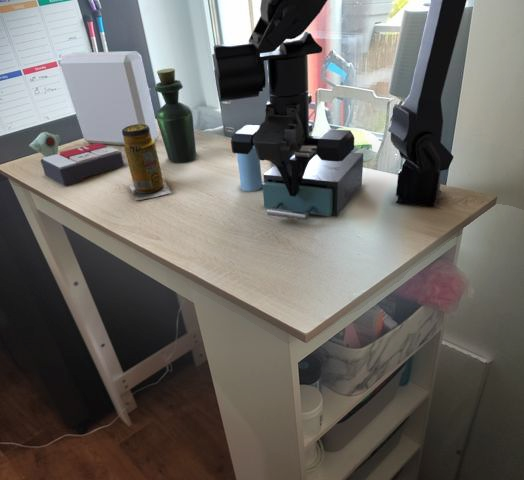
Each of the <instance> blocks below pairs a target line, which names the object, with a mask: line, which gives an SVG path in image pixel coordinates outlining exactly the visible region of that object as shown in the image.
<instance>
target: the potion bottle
mask: <svg viewBox="0 0 524 480" xmlns="http://www.w3.org/2000/svg"><path fill="white" fill-rule="evenodd" d="M156 74H157V76H158V79H159V82H157V83H156V84H155V92H157V93H160V94H161V96H162V98H163V101H164V104H163V106H161V107H160V108H159V109H158V110H157V112H156V116H155V120H156V123H157V126H158V128H159V133H160V135H161V139H162V142H163V145H164V149H165V151H166V155H167V158H168V160H169V161H170V162H171V163H176V164H181V163H188V162H190V161H193V160H195V158H196V157H197V145H196V134H195V133H196V132H195V123H194V112H193V110H192V108H191V107H190V106H188V105H186V104H184V103H182V102H180V101H179V100H180V98H179V97H180V90H181V89H183V87H184V85H183V83H182V81H181V80H179V79H176V69H175V68H162V69H159V70H157V71H156Z"/></svg>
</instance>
